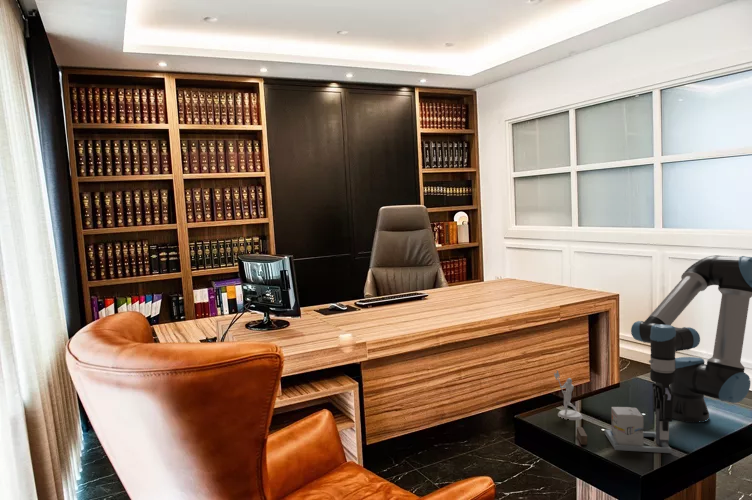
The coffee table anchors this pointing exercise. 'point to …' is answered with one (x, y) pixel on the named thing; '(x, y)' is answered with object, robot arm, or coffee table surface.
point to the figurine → (568, 401)
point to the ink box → (627, 426)
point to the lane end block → (581, 435)
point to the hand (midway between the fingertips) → (662, 437)
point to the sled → (663, 443)
